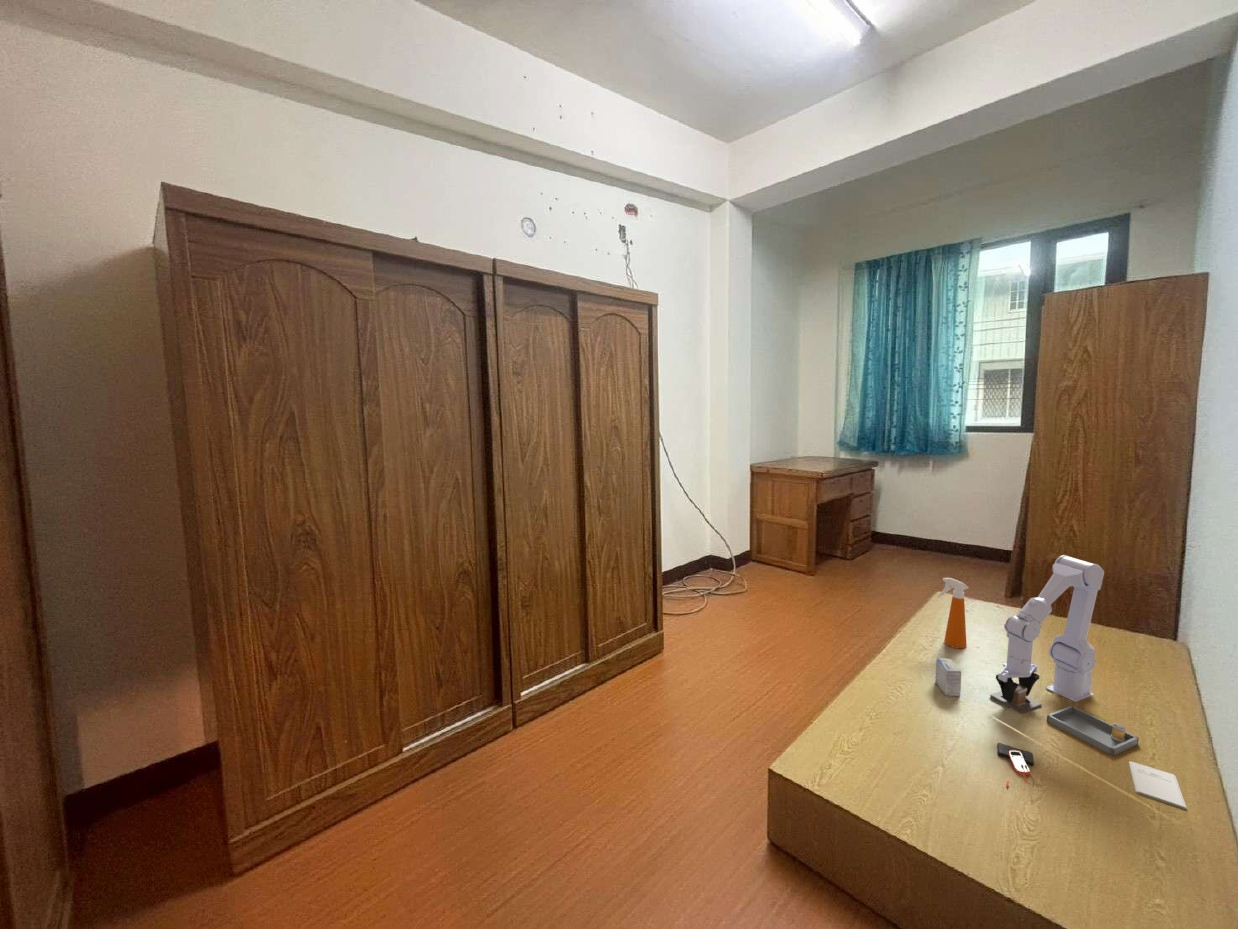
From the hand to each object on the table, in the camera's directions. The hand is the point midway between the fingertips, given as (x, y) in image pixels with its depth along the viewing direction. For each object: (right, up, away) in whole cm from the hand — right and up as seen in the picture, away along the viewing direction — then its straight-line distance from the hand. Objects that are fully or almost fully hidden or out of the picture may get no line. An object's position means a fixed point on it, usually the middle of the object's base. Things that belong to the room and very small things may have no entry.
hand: (1015, 697), depth 154 cm
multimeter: (-20, -7, -28) cm, 35 cm away
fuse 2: (+14, -3, -18) cm, 23 cm away
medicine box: (-16, -2, +8) cm, 18 cm away
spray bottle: (+4, +3, +36) cm, 37 cm away
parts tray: (+10, -4, -14) cm, 18 cm away
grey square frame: (0, -2, 0) cm, 2 cm away
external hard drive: (+8, -7, -33) cm, 34 cm away
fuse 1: (0, -2, 0) cm, 2 cm away
